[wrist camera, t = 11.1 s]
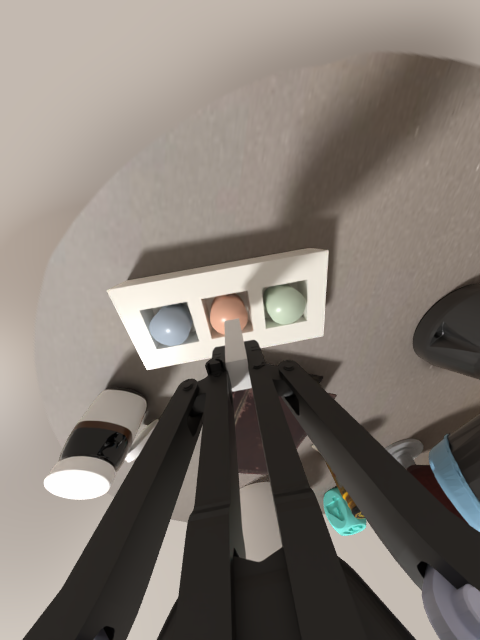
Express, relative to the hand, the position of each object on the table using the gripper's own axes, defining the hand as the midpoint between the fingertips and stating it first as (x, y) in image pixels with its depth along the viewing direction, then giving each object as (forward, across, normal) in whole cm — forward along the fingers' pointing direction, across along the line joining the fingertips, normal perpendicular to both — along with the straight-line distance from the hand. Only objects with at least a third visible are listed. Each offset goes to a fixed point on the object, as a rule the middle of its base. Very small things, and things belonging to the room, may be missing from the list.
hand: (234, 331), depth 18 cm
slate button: (+6, +7, 0) cm, 10 cm away
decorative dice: (+9, -22, +70) cm, 73 cm away
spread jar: (+8, +21, +16) cm, 27 cm away
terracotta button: (+6, 0, 0) cm, 6 cm away
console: (+8, 0, 0) cm, 8 cm away
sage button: (+6, -7, 0) cm, 9 cm away
